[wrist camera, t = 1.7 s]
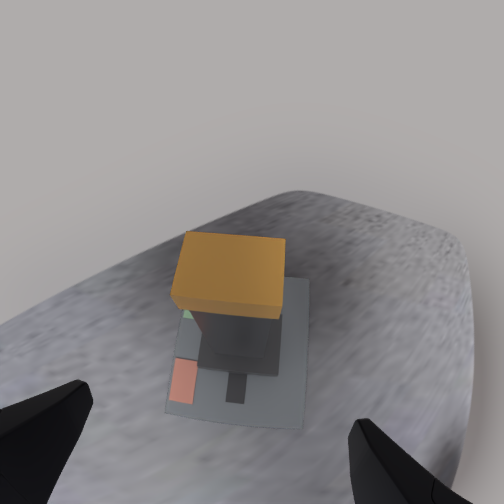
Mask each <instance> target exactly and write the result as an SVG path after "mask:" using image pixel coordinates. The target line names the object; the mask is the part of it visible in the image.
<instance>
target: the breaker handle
mask: <svg viewBox="0 0 504 504" xmlns="http://www.w3.org/2000/svg"><path fill="white" fill-rule="evenodd" d="M285 240H286V239H282V238H270V237H257V236H245V235H232V234H219V233H205V232H192V231H186V234H185V237H184V241H183V245H182V249H181V252H180V256H179V260H178V264H177V268H176V272H175V276H174V280H173V284H172V288H171V293H170V296H171V297H172V299H173V300H174V302H175V304H176V305H177V307H178V308H179V309H184V310H189V311H190V313H191V315H192V316H193V318H194V320H195V321H196V323H197V325H198V327H199V328H200V330H201V332H202V336H201V342H200V348H199V355H198V361H197V367H198V368H200V369H206V370H214V371H221V372H230V373H238V374H248V375H259V376H272V377H277V376H278V373H279V360H280V346H281V331H282V315H283V314H280V313H281V310H282V304H283V286H284V265H285Z"/></svg>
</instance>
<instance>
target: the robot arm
mask: <svg viewBox="0 0 504 504" xmlns="http://www.w3.org/2000/svg"><path fill="white" fill-rule="evenodd" d="M92 405H93V397H92V394H91V391H90V388H89V385H88V384H87V383H86V382H84V381H81V380H74V381H72V382H69V383H67V384H64V385H62V386H60V387H57V388H55V389H52V390H50V391H47V392H45V393H42V394H39V395H37V396H34V397H32V398H29V399H26V400H24V401H21V402H18V403H16V404H13V405H10V406H8V407H5V408H2V409H0V504H47V502H48V500H49V497H50V495H51V493H52V491H53V489H54V487H55V485H56V483H57V480H58V478H59V476H60V474H61V472H62V470H63V468H64V466H65V464H66V462H67V460H68V458H69V456H70V454H71V453H72V451H73V449H74V447H75V445H76V443H77V441H78V439H79V437H80V435H81V433H82V430H83V428H84V425H85V422H86V420H87V417H88V415H89V412H90V410H91V408H92ZM348 446H349V461H350V477H351V484H352V489H353V495H354V500H355V504H473V503H471V502H469V501H467V500H466V499H464V498H462V497H461V496H459V495H458V494H456V493H455V492H453V491H452V490H451V489H449V488H448V487H447V486H445V485H444V484H443V483H442V482H440V481H439V480H438V479H437V478H434V476H433V475H432V474H431V473H430V472H428V471H427V470H426V469H425V468H424V467H422V466H421V465H420V464H419V463H418V462H417V461H416V460H414V459H413V458H412V457H411V456H410V455H409V454H408V453H406V452H405V451H404V450H403V449H402V448H401V447H400V446H398V445H397V444H396V443H395V442H394V441H393V440H392V439H391V438H390V437H388V436H387V435H386V434H385V433H384V432H383V431H382V430H381V429H380V428H379V427H377V426H376V425H375V424H374V423H373V422H372V421H371V420H370V419H368V418H364V419H357V420H356V421H355V422H354V425H353V427H352V429H351V431H350V433H349V436H348Z"/></svg>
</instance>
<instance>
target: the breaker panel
mask: <svg viewBox="0 0 504 504" xmlns="http://www.w3.org/2000/svg"><path fill="white" fill-rule="evenodd" d="M280 314H283V315H282V331H281V346H280V360H279V373H278V376H277V377H272V376H259V375H248V374H238V373H230V372H221V371H214V370H206V369H200V368H198V367H197V361H198V355H199V348H200V342H201V336H202V332H201V330H200V328H199V327H198V325H197V323H196V321H195V320H194V318H193V316H192V315H191V313H190V311H189V310H184V309H182V314H181V319H180V324H179V329H178V334H177V339H176V345H175V350H174V356H173V362H172V368H171V374H170V380H169V386H168V393H167V399H166V406H165V413H167V414H171V415H176V416H181V417H186V418H191V419H197V420H203V421H209V422H216V423H223V424H231V425H240V426H250V427H262V428H279V429H303V422H304V409H305V395H306V379H307V360H308V333H309V279H308V278H295V277H284V286H283V304H282V310H281V313H280Z"/></svg>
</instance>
